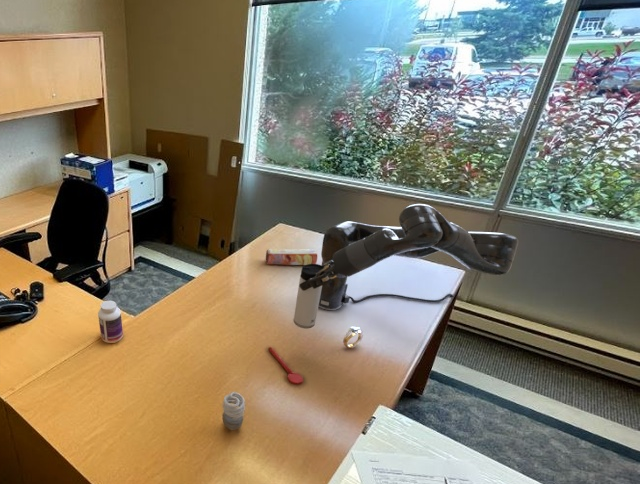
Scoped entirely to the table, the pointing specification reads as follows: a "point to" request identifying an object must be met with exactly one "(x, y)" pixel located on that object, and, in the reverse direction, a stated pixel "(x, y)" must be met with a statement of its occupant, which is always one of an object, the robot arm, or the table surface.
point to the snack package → (291, 257)
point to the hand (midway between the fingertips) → (305, 282)
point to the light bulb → (233, 410)
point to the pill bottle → (110, 322)
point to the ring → (355, 331)
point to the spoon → (288, 370)
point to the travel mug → (307, 298)
